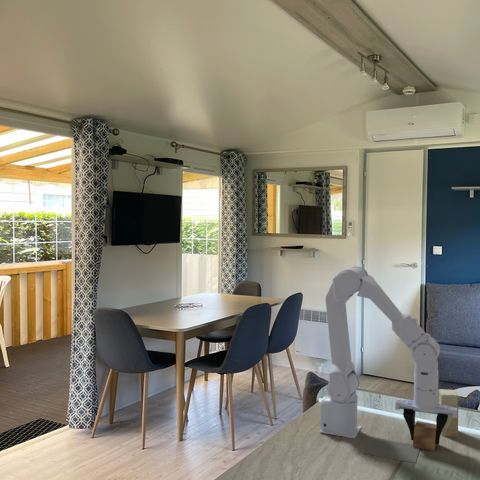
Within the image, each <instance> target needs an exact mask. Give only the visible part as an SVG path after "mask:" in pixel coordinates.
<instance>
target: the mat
mask: <svg viewBox="0 0 480 480" xmlns="http://www.w3.org/2000/svg"><path fill="white" fill-rule="evenodd" d="M420 449H421V448H417V447H413V443H406V442H399V441H393V440H389V439H382V438H377V437H372V438H371V439H370V441H369V442H368V445H367V446H366V448H365V450H364V452H363V455H367V456H372V457H373V456H374V457H377V458H378V457H379V458H385V459H389V460H390V459H391V460H396V461H402V462H406V463H411V464H416V463H417V460H418V457H419V452H420Z"/></svg>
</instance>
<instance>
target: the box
mask: <svg viewBox="0 0 480 480" xmlns="http://www.w3.org/2000/svg"><path fill="white" fill-rule="evenodd" d="M438 404H442V405H446V406H449V407H454V408H457V418H452V417H451V416H448V419H447V422H446V424H445V426H444V428H443V430H442V432H441V435H440V437H453V438H454V437H459V394H458V393H457V391H456V389H442V388H438Z"/></svg>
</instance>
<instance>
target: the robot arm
mask: <svg viewBox="0 0 480 480" xmlns="http://www.w3.org/2000/svg"><path fill="white" fill-rule="evenodd" d="M357 292H358V293H357ZM356 293H357V294H356ZM354 294H356V296H357V297H360V298H365V299H369V300H370V301H371V302H372V303H373V304H374V305H375V307H377V308H378V309H379V311H381V312H382V314H384V315H385V316H386V317H387V318H388V320H390V322H391V330H392V331H393V332H394V333H395V334H396V336H397V337H398V338H399V339H400V341H402V343H403V344H404V345H405V346H406V347H407V349H409V350H410V351H412V352H411V356H412V360H413V361H414V369H413V400H406V399H396V400H395V404H394V409H395V410H399V411H400V410H403V413H402V415H403V418H404V420H405V423H406V425H407V428H408V430H409V434H410V438H411V441H413V439H414V427H415V424H416V412H418V413H424V414H433V415H436V418H435V422H436V445H437V446H439V445H440V439H441V432H442V430H443V428H444V426H445V424H446V422H447V419H448V416H451V417H452V418H457V408H454V407H449V406H446V405H442V404H439V361H438V360H439V359H438V357H439V355H440V353H441V347H440V344H439V343H438V342H437V339H436V338H434V337H431V334H430V333H426V332H425V330H424V329H423V328H422V327H421V326H420V325H419V324H418V321H419V320H418V319H417V317H415V316H413V317H412V316H411V315H410V314H405V313H402V312H401V311H400V309H399V308H398V306H396V304H395V303H394V302H393V300H392V299H390V297H389V296H388V295H387V293H386V292H385V291H384V290H383V289H382V287H381V286H380V285H379V283H378V282H377V281H376V279H375V278H374V277H373V276H372V275H371V274H369V272H367V270H366V269H365V268H363V267H361V266H359V265H357V266H352V267H350V268H347V269H343V270H341V271H340V272H339V273H338V274H337V275H335V276H334V277H333V278H332V283H331V285H330V288H329V289H328V291H327V293H326V296H325V307H326V308H325V309H326V318H327V328H328V338H329V347H330V358H331V366H330V369H329V379H328V383H327V388H326V389H327V390H326V391H327V394H328V395H324V396H323V397H322V399H321V403H320V429H319V433H321V434H327V435H332V436H338V437H344V438H350V439H356V437H357V436H358V434H359V433H360V430H361V429H362V426H361V425H358V396H357V393H356V391H357V390H358V388H359V387H360V383H361V382H360V377H359V375H358V374H357V372H356V366H355V364H354V362H353V361H352V354H351V344H350V334H349V326H348V325H349V324H348V313H347V304H346V303H347V302H348V301H349V300H350V299H351V298H352V297H353V296H354Z"/></svg>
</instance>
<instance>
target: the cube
mask: <svg viewBox="0 0 480 480" xmlns="http://www.w3.org/2000/svg"><path fill="white" fill-rule="evenodd" d="M412 441H413V442H412V444H413V447H417V448H420V449H423V450H427V451H431V452H435V450H436V445H437V444H436V424H434V423H430V422H426V421H425V422H424V421H420V420H416V421H415V427H414V439H413V440H412Z"/></svg>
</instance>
